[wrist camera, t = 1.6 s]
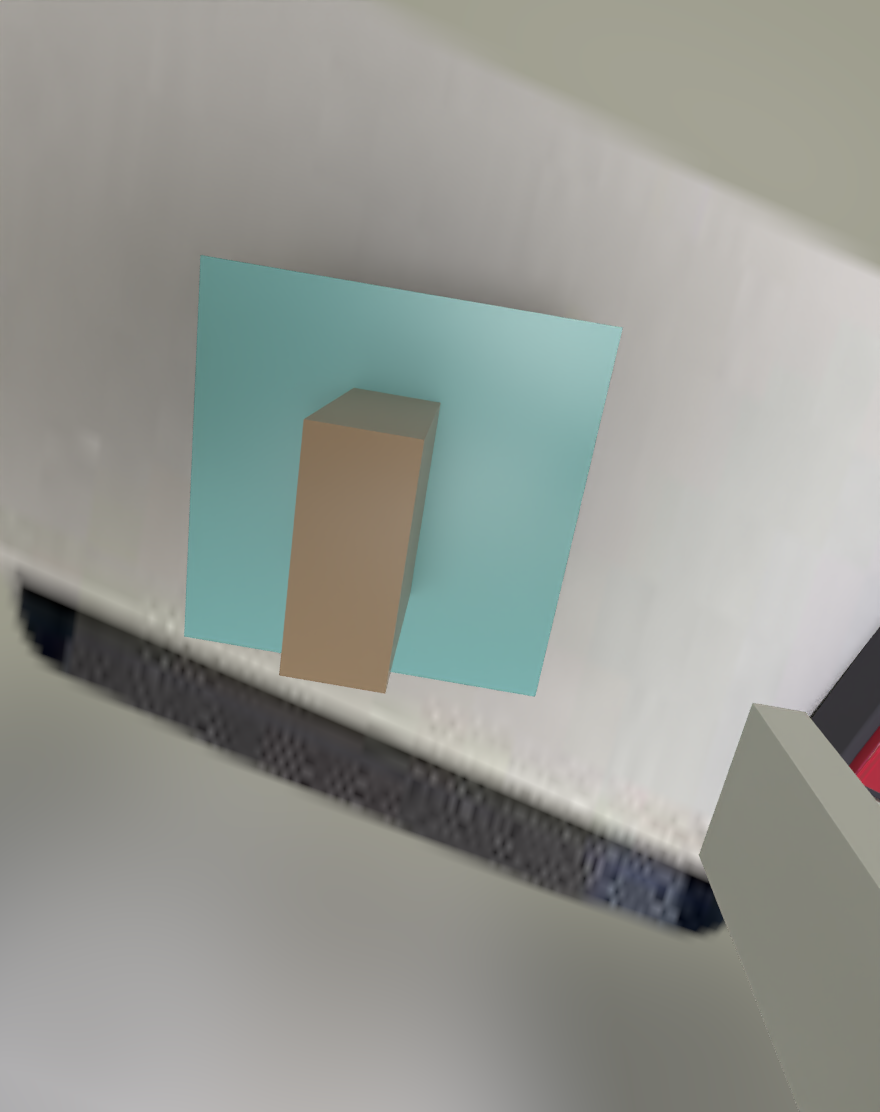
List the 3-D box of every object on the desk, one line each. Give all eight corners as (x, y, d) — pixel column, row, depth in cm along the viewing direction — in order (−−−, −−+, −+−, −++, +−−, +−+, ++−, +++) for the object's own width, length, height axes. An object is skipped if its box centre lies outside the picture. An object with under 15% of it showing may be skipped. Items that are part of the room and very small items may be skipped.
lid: (231, 260, 22) (82, 233, 14) (607, 325, 22) (681, 336, 14) (212, 605, 25) (87, 742, 17) (530, 660, 25) (552, 822, 17)
